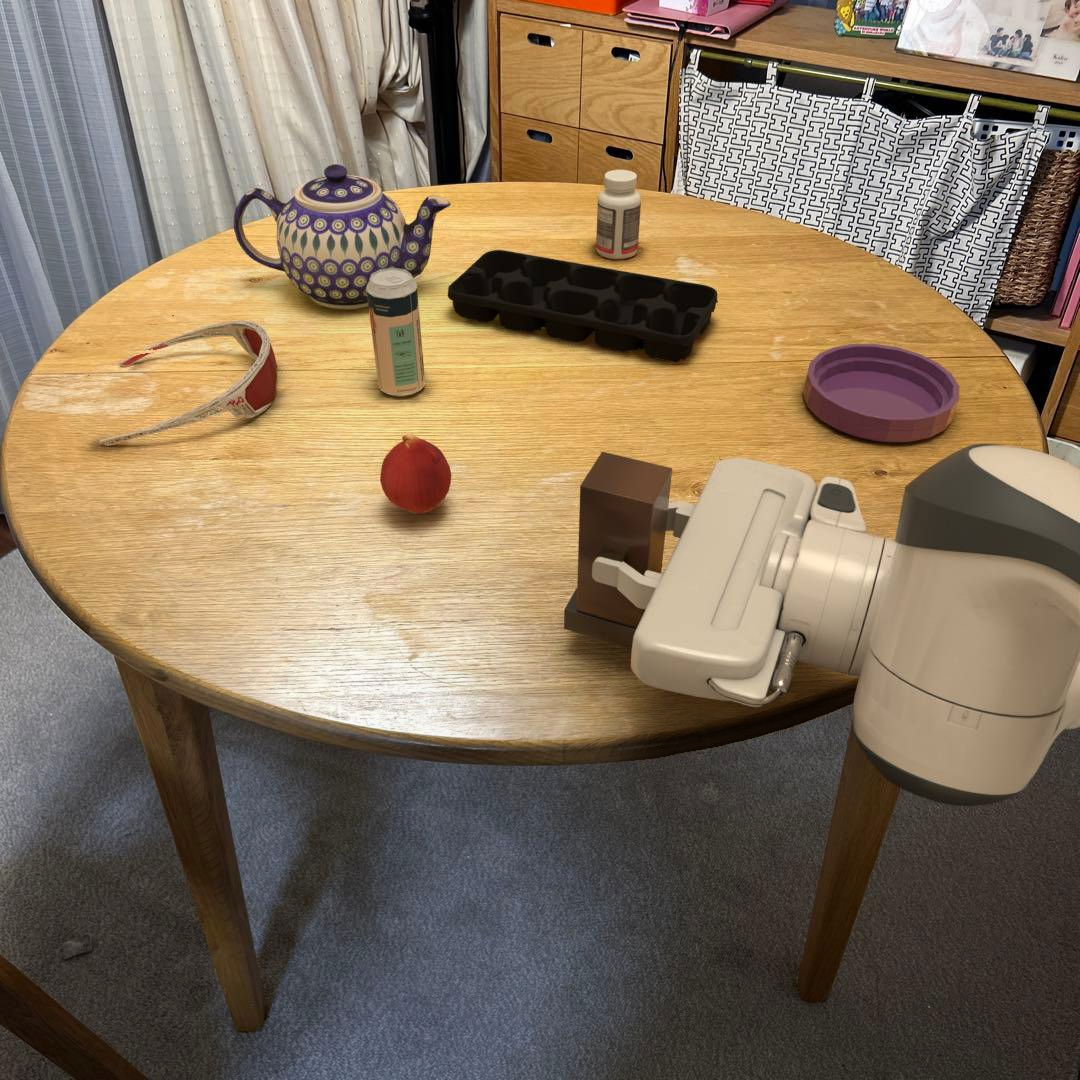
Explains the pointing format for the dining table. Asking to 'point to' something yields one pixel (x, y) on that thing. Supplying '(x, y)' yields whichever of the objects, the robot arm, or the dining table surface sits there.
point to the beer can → (396, 331)
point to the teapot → (342, 236)
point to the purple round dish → (881, 392)
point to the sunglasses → (247, 392)
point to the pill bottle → (618, 216)
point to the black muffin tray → (585, 303)
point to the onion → (415, 475)
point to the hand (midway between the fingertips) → (609, 538)
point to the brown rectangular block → (617, 542)
